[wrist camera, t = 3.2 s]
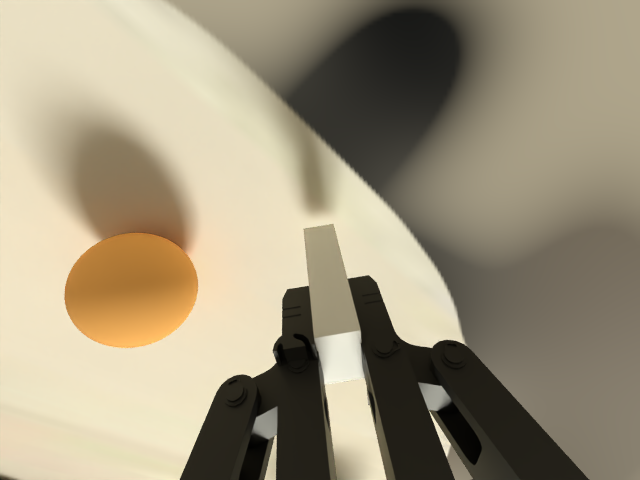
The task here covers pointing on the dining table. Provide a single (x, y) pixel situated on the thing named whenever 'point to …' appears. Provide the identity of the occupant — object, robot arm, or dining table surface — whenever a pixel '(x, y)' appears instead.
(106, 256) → the ball
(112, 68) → the dining table surface
